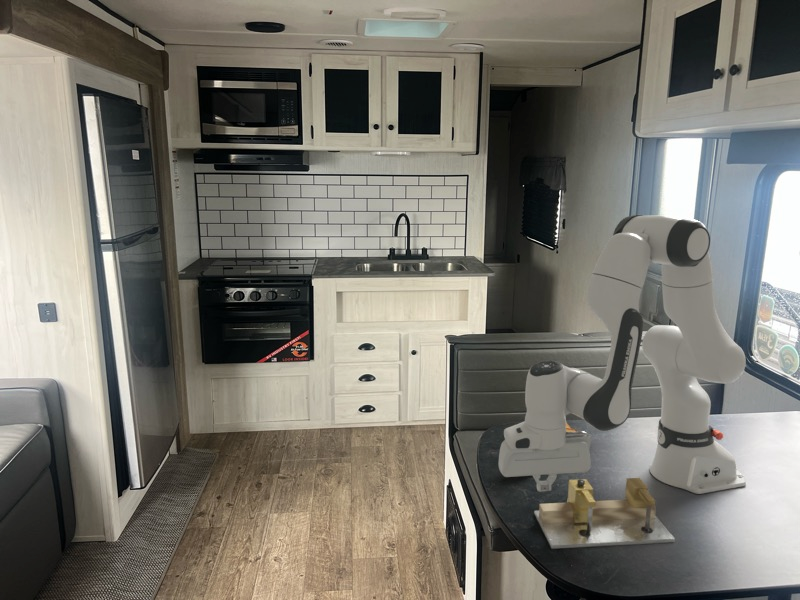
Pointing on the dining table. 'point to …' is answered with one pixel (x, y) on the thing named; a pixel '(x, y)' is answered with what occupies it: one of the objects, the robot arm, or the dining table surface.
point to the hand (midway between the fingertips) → (543, 489)
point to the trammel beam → (608, 506)
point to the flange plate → (604, 532)
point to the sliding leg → (581, 501)
